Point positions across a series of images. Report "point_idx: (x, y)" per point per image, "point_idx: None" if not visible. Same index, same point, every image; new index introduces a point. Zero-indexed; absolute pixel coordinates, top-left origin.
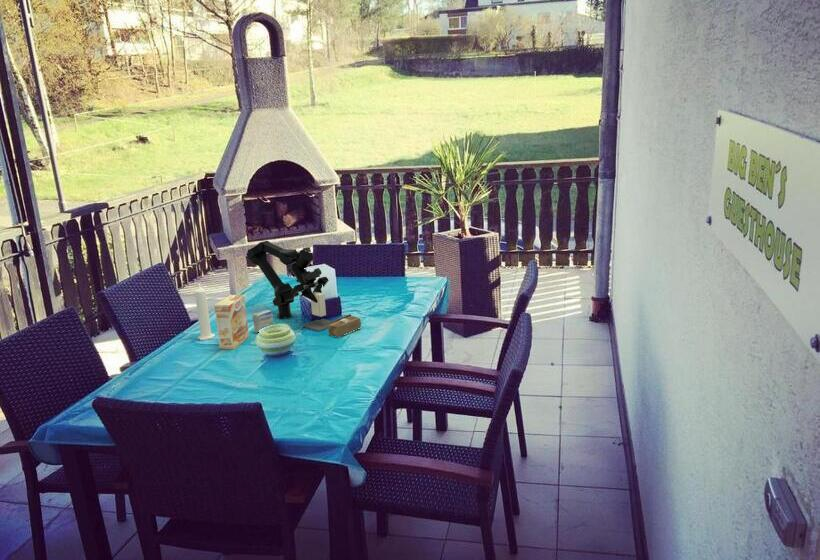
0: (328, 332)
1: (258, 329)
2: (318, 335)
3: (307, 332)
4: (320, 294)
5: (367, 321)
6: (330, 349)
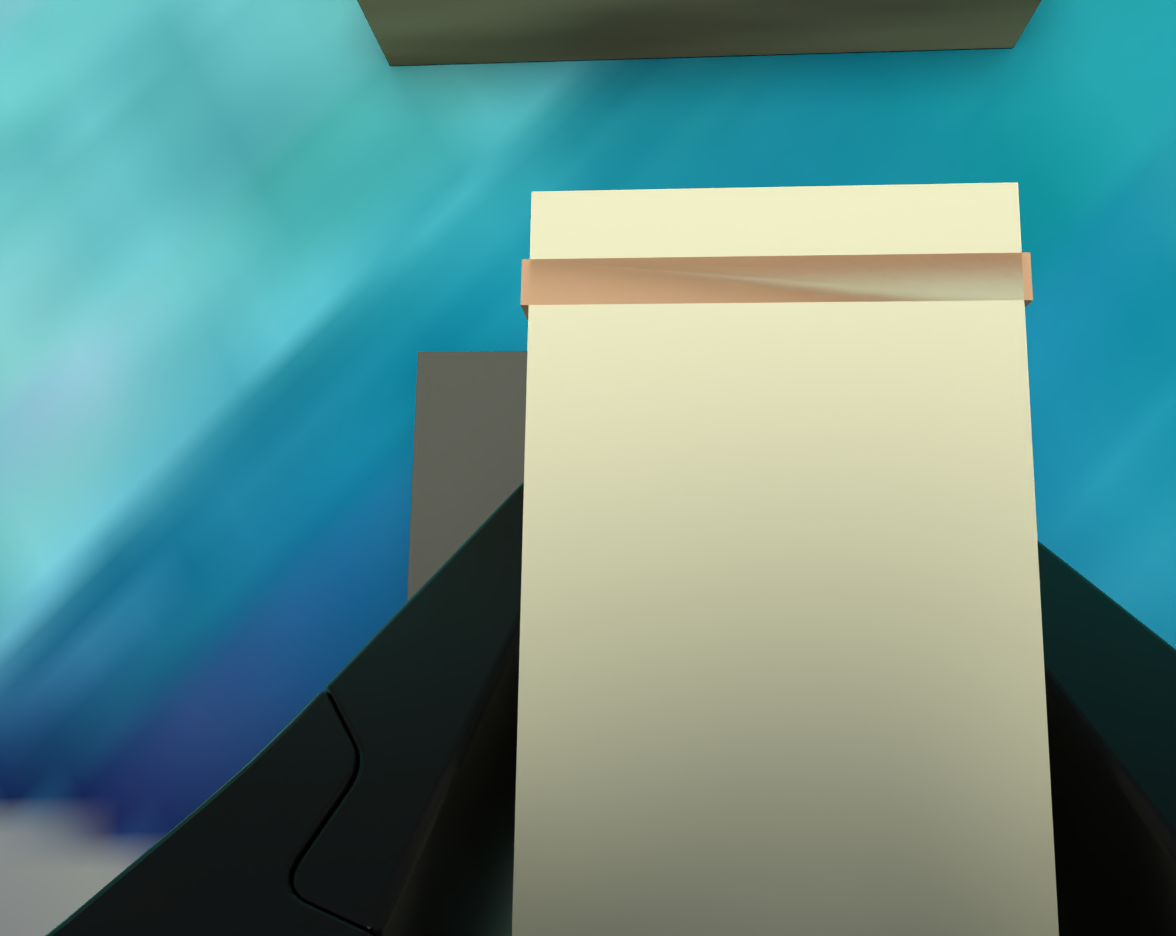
0: (1037, 5)
1: None
2: (1136, 216)
3: (1165, 549)
4: (816, 274)
5: (35, 16)
6: None
